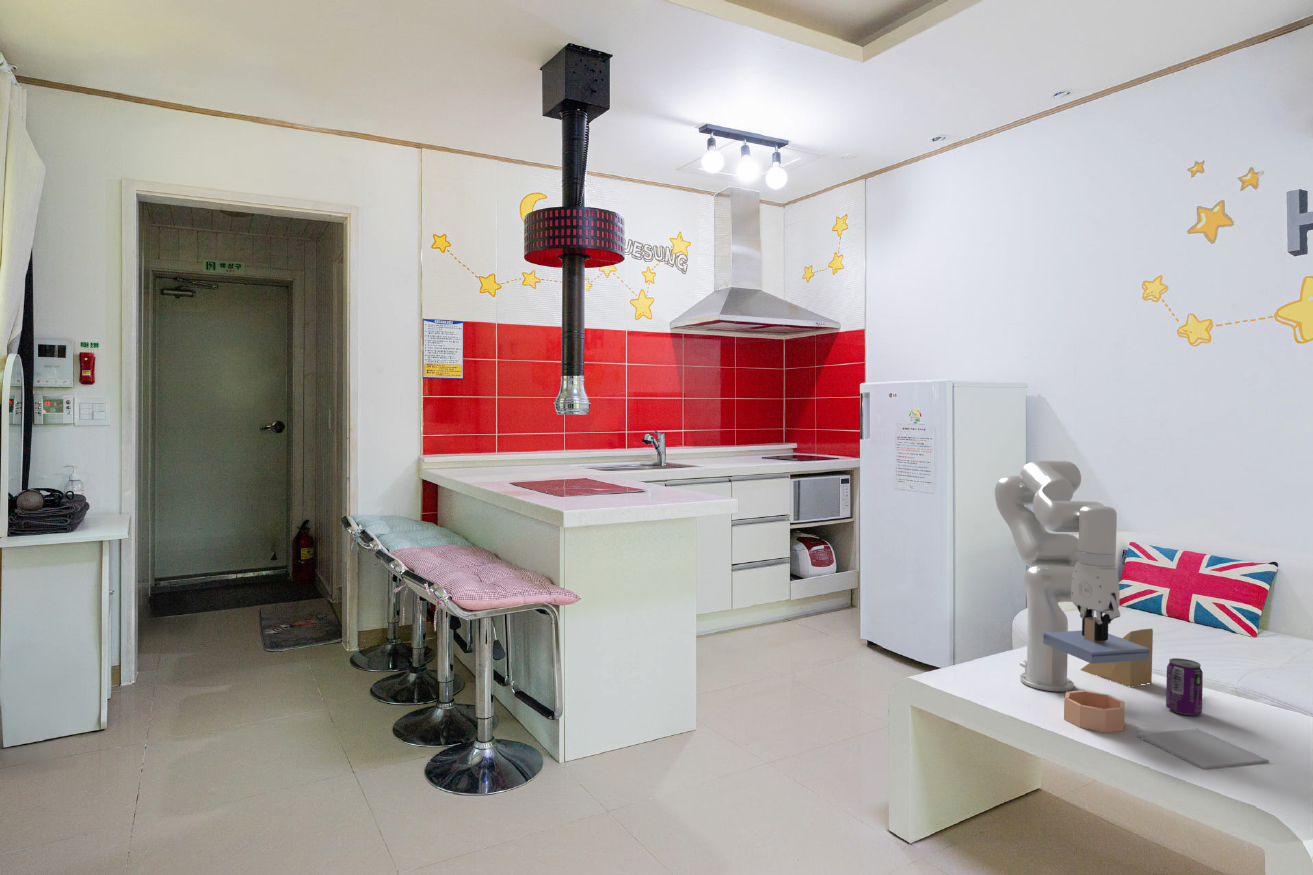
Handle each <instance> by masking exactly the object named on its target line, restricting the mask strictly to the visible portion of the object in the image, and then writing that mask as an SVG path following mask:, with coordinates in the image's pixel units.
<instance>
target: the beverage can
mask: <svg viewBox="0 0 1313 875" xmlns="http://www.w3.org/2000/svg"><path fill="white" fill-rule="evenodd" d="M1203 676H1204V674H1203V669H1202V668H1201V664H1200V662H1197V661H1195V660H1192V659H1187V658H1177V657H1174V658H1169V663H1168V664H1167V666H1166V681H1165V682H1166V688H1165V690H1166V691H1165V692H1166V694H1165V696H1166V697H1165V706H1166V708H1168V709H1169V710H1171V711H1172V712H1174V713H1175V714H1178V713H1179V714H1180V715H1182V714H1184V715H1183V716H1188V715H1190V716H1191V715H1192V717H1193V715H1194V716H1197V715H1200V714H1202V713H1203V688H1204V686H1203V684H1204V682H1203V681H1204V678H1203ZM1179 714H1178V715H1179Z"/></svg>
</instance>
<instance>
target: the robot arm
mask: <svg viewBox="0 0 1313 875" xmlns="http://www.w3.org/2000/svg"><path fill="white" fill-rule="evenodd" d="M1019 474H1020V475H1011V476H1010V475H1009V476H1005V477H1003V478H1001V479H999V480H998V481H997V482H996V483H995V487H994V497H995V504H996V508H997V509H998V511H999V514H1000V515H1001V517H1002V519H1003V520H1004V521H1005V523H1006V525H1007V526H1008V528H1009V530H1010V531H1011V535H1012V538H1013V540H1014V543H1015V545H1016V548H1017V552H1018V554H1019V556H1020V558H1021V560H1022V563H1023V564H1025V565H1026V566H1027V567H1029V568H1028V569H1026V571H1025V572H1024V577H1023V583H1024V589H1025V595H1026V596H1025V597H1026V601H1027V602H1026V604H1027V606H1026V607H1027V608H1026V609H1027V630H1026V631H1027V633H1026V634H1027V635H1026V636H1027V637H1026V640H1027V642H1026V647H1027V648H1026V649H1027V650H1026V655H1027V656H1026V658H1025V659H1024V661H1022V660H1021V661H1020V662H1019V666H1021V667H1022V668H1024V672H1022V674H1020V676H1019V679H1020V681H1021V683H1023V684H1024V685H1026V686H1028V687H1031V688H1034V689H1038V690H1041V691H1048V692H1070V691H1073V689H1074V687H1075V683H1074V682H1073V681H1072V679H1070V678H1068V658H1069V657H1068V655H1069V654H1068V653H1065V652H1063V651H1061V650H1058V649H1056V648H1053V647H1051V646H1049V645H1046V644H1044V643H1043V636H1044V633H1049V632H1065V631H1069V621H1068V617H1067V615H1066V613H1065V611H1063V610H1062V608H1061V607H1060V605H1059V603H1064V602H1065V603H1072V604H1073V605H1074V606H1075V607H1076V609H1077V611H1078V612H1079V616H1080V618H1081V622H1082V623H1081V630H1082V635H1083V636H1084V626H1085V618H1087V617H1097V623H1095V633H1094V640H1096V641H1107V640H1108V634H1109V625H1111V624H1112V622H1113V620H1114V619H1117V618H1120V617H1121V612H1120V609H1119V608H1120V582H1119V581H1120V580H1119V573H1118V569H1117V567H1116V563H1117V526H1118V525H1117V523H1118V521H1117V518H1118V517H1117V516H1118V514H1117V511H1116V509H1115V508H1114V507H1111V506H1106V505H1103V504H1102V503H1100V502H1098V501H1082V500H1081V501H1080V500H1072V499H1073V496H1074V494H1075V493H1076V492H1077V491H1078V489H1079V488H1080V486H1081V483H1082V474H1081V471H1080V468H1079V467H1078V466H1077V465H1076V464H1075V463H1073V462H1071V461H1067V460H1035V461H1031V462H1028V463H1027V464H1025V465H1024V466H1023V467H1022V469H1021V470H1020V473H1019ZM1026 506H1032V509H1033V510H1031V509H1030V508H1028V507H1026ZM1047 530H1048V531H1051V532H1048V531H1047ZM1054 532H1055V533H1054ZM1069 533H1078V537H1077V536H1075V535H1073V534H1069ZM1095 612H1096V613H1095ZM1103 614H1104V615H1103Z"/></svg>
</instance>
